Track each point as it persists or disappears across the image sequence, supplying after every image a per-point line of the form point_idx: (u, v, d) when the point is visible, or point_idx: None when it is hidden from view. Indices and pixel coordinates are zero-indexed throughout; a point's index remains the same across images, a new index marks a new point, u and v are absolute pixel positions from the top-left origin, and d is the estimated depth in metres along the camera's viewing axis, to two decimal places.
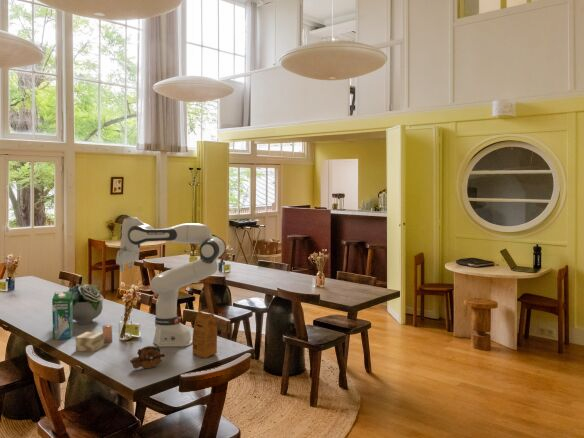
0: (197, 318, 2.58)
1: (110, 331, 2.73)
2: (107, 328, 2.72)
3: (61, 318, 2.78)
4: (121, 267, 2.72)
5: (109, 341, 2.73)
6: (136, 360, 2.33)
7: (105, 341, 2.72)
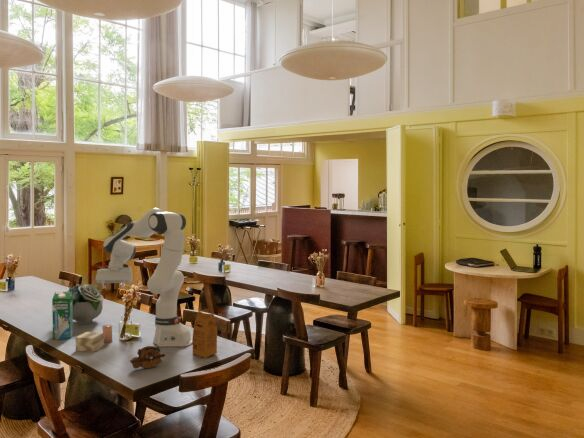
0: (197, 318, 2.58)
1: (110, 331, 2.73)
2: (107, 328, 2.72)
3: (61, 318, 2.78)
4: (102, 284, 2.86)
5: (109, 341, 2.73)
6: (136, 360, 2.33)
7: (105, 341, 2.72)
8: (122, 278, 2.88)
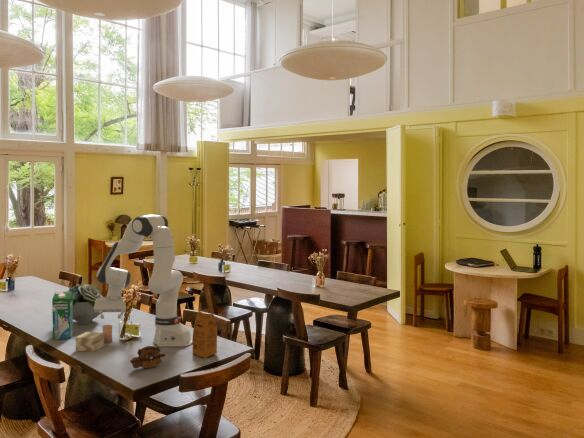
0: (197, 318, 2.58)
1: (110, 331, 2.73)
2: (107, 328, 2.72)
3: (61, 318, 2.78)
4: (100, 314, 2.83)
5: (109, 341, 2.73)
6: (136, 360, 2.33)
7: (105, 341, 2.72)
8: (120, 307, 2.84)
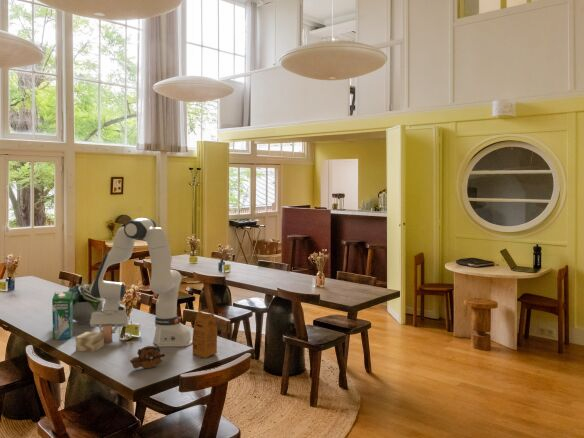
0: (197, 318, 2.58)
1: (110, 331, 2.73)
2: (107, 328, 2.72)
3: (61, 318, 2.78)
4: None
5: (109, 341, 2.73)
6: (136, 360, 2.33)
7: (105, 341, 2.72)
8: (117, 322, 2.77)
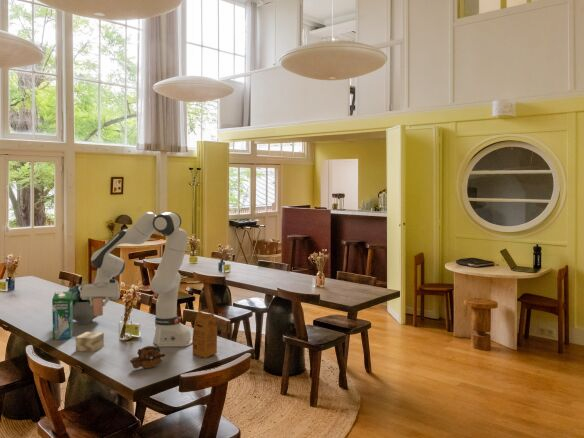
0: (197, 318, 2.58)
1: (101, 303, 2.67)
2: (97, 300, 2.66)
3: (61, 318, 2.78)
4: (90, 301, 2.69)
5: (99, 314, 2.67)
6: (136, 360, 2.33)
7: (95, 314, 2.66)
8: (108, 294, 2.71)
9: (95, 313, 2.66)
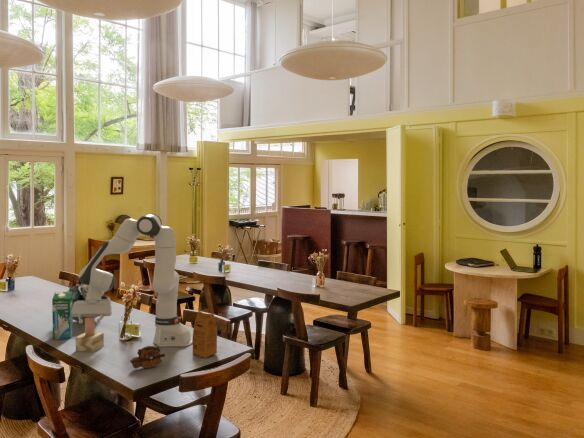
0: (197, 318, 2.58)
1: (92, 323, 2.62)
2: (89, 320, 2.61)
3: (61, 318, 2.78)
4: None
5: (91, 334, 2.62)
6: (136, 360, 2.33)
7: (87, 334, 2.62)
8: (100, 311, 2.66)
9: (87, 333, 2.62)
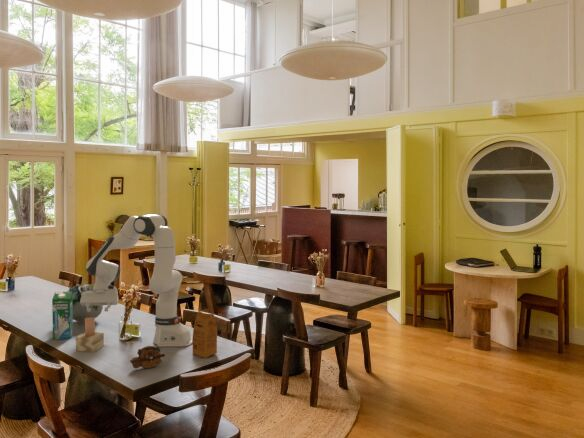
0: (197, 318, 2.58)
1: (92, 323, 2.62)
2: (89, 320, 2.61)
3: (61, 318, 2.78)
4: None
5: (91, 334, 2.62)
6: (136, 360, 2.33)
7: (87, 334, 2.62)
8: (107, 300, 2.80)
9: (87, 333, 2.62)
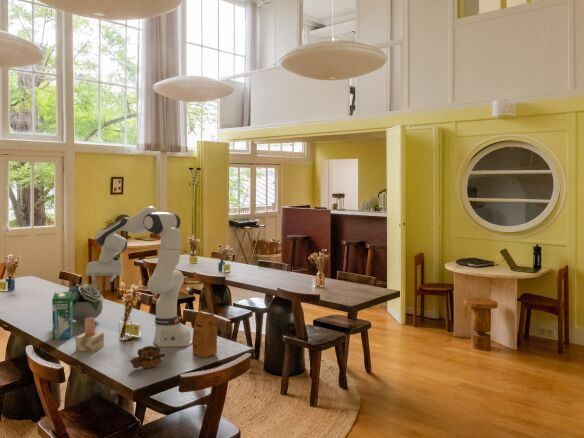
0: (197, 318, 2.58)
1: (92, 323, 2.62)
2: (89, 320, 2.61)
3: (61, 318, 2.78)
4: (92, 277, 2.86)
5: (91, 334, 2.62)
6: (136, 360, 2.33)
7: (87, 334, 2.62)
8: (112, 271, 2.88)
9: (87, 333, 2.62)
